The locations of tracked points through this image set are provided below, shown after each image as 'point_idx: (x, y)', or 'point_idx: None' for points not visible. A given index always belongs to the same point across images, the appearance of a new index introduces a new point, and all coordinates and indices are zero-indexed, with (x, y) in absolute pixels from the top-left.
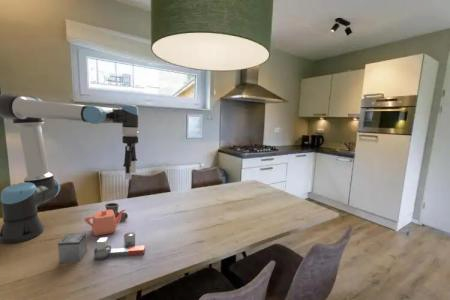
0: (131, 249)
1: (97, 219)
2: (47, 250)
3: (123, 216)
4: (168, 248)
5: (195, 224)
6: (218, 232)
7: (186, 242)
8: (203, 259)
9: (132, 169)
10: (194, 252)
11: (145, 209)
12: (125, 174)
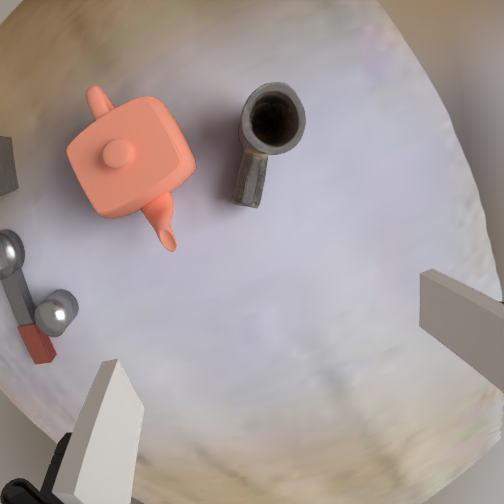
0: (24, 333)
1: (68, 158)
2: (22, 73)
3: (232, 198)
4: None
5: (234, 442)
6: (197, 483)
7: None
8: None
9: (445, 315)
10: None
11: (361, 243)
12: (87, 405)
